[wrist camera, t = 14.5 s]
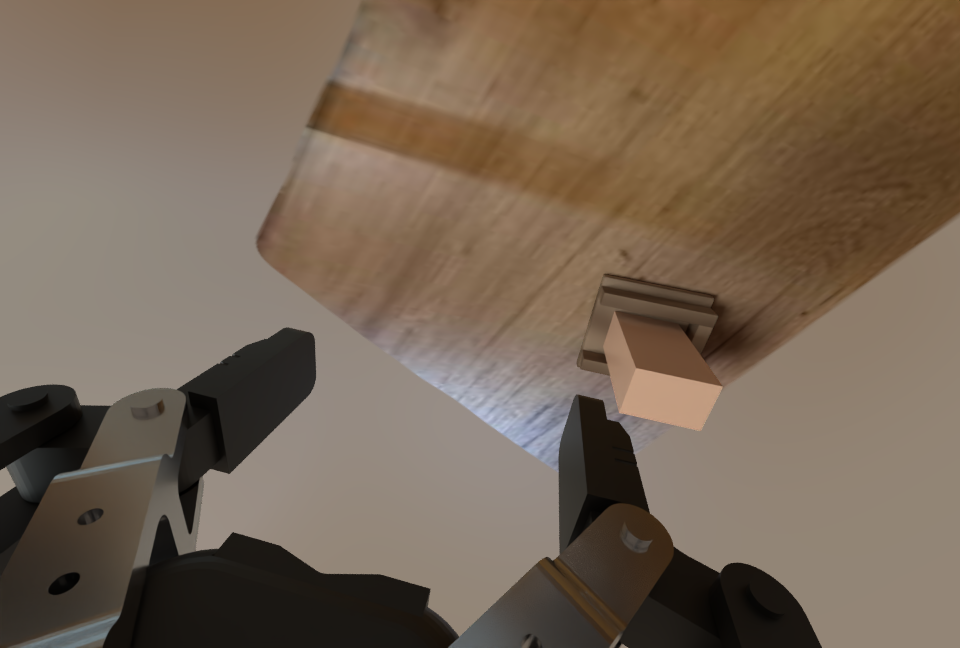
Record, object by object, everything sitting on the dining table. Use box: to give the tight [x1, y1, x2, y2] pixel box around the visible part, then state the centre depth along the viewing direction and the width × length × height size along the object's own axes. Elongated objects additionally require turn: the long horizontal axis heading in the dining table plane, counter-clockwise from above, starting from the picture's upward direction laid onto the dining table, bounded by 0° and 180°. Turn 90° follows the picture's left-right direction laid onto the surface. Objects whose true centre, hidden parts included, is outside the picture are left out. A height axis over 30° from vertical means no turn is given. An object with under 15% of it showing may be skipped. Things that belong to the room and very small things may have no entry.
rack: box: [577, 274, 718, 376], centre depth 38 cm, size 10×10×3 cm
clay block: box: [603, 311, 723, 431], centre depth 33 cm, size 4×6×11 cm, turn 81°
